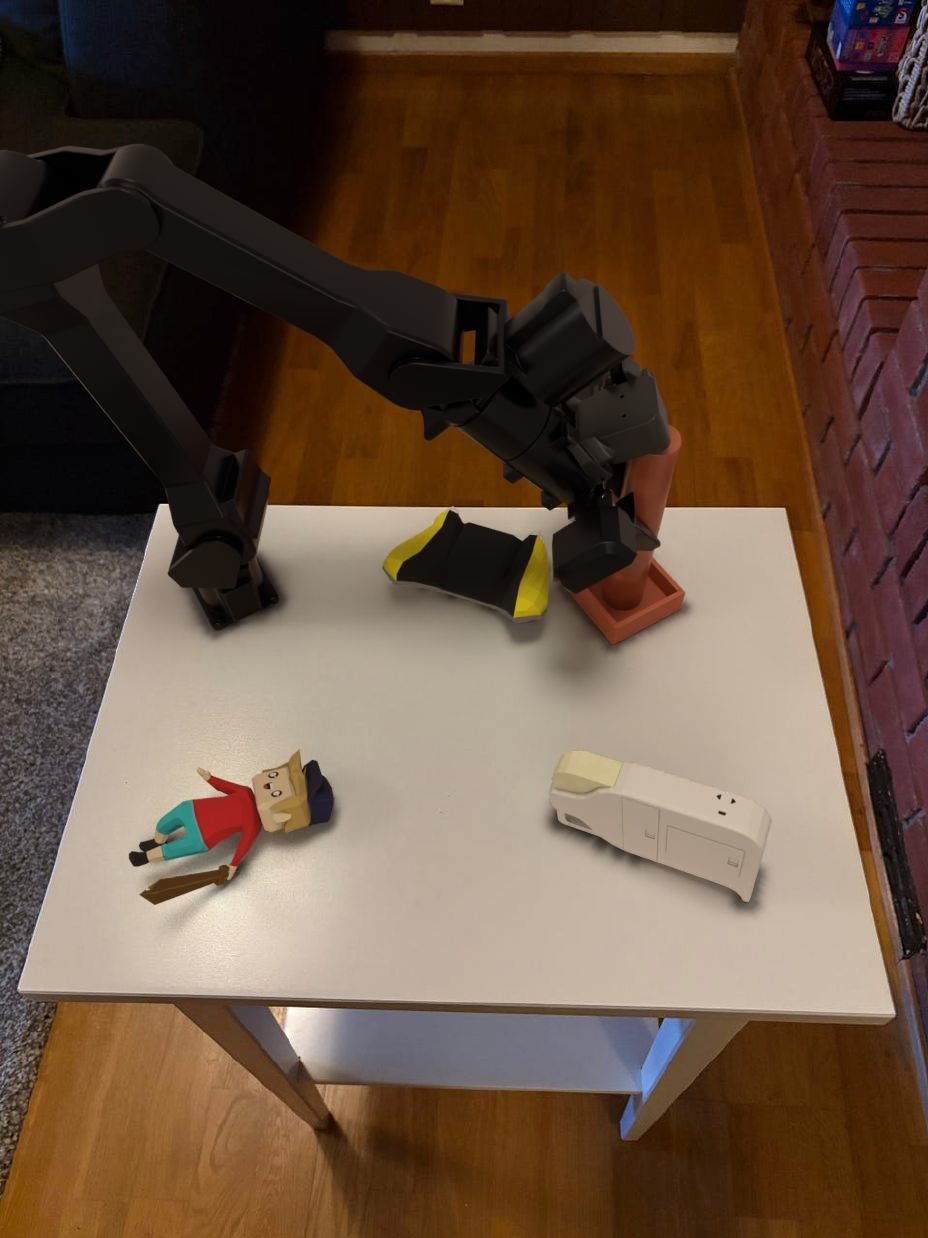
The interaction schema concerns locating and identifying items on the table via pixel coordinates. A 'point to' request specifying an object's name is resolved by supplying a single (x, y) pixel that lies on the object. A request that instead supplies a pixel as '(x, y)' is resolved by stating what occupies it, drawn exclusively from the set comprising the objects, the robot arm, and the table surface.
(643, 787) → the white device casing
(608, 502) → the robot arm
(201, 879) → the toy
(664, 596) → the terracotta bin
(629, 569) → the terracotta peg
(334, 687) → the table surface
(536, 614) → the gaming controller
